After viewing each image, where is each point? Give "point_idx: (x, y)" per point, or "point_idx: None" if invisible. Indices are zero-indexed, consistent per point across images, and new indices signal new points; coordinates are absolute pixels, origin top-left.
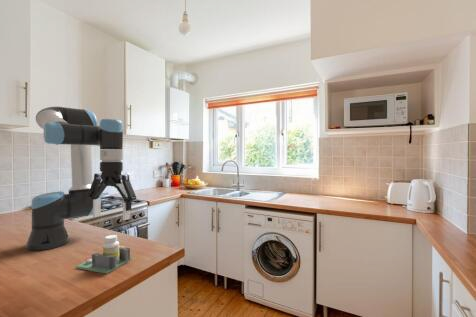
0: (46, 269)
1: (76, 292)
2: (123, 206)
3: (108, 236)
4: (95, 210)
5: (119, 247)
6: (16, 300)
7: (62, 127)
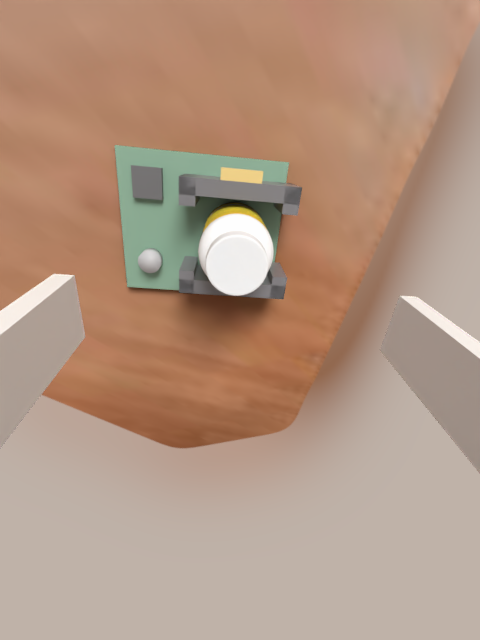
0: None
1: (256, 382)
2: (459, 439)
3: (219, 267)
4: (55, 363)
5: (241, 190)
6: (154, 426)
7: None
